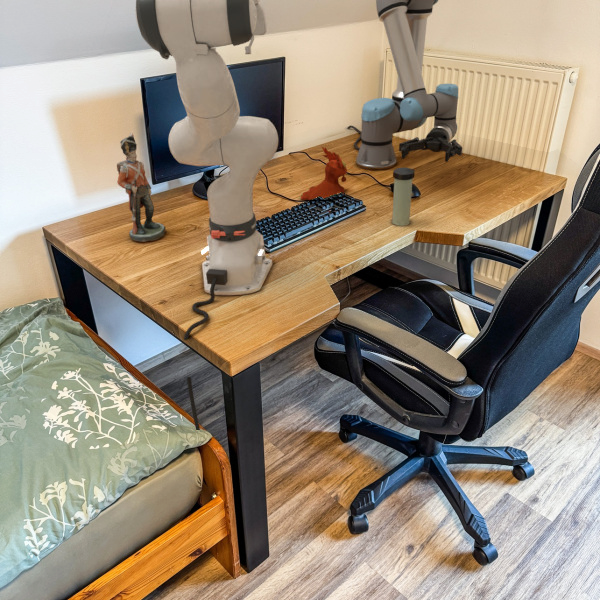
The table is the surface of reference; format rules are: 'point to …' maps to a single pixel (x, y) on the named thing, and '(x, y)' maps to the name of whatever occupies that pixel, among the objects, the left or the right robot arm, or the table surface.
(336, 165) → the toy
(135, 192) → the figurine
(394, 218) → the jar
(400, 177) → the lid
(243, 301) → the table surface
